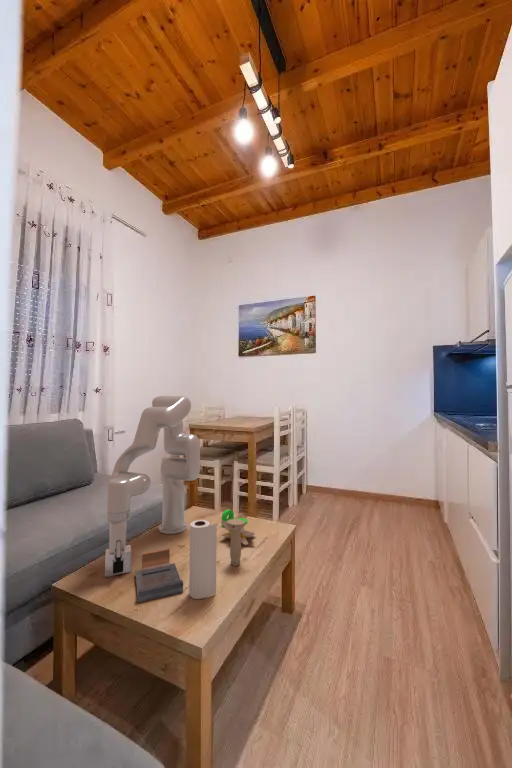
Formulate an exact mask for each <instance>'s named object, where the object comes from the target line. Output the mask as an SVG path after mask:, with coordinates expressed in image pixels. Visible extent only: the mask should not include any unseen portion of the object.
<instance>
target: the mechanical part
mask: <svg viewBox="0 0 512 768" xmlns="http://www.w3.org/2000/svg"><path fill="white" fill-rule="evenodd" d="M230 519H235V513H234V511H233V510H230V509H227V508H226V509H225V510H223V512H222V514H221V521H226V522H227V521H228V520H230ZM238 519H239V520H243V521H245V525H247V524H248V519H246V518H243V517H240V518H238ZM221 527H223V528H225V527H224V526H223V524H222V523H221Z"/></svg>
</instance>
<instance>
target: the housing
mask: <svg viewBox="0 0 512 768" xmlns="http://www.w3.org/2000/svg"><path fill="white" fill-rule="evenodd" d="M121 550H122V549H121ZM115 551H117V550H115ZM104 555H105V558H104V561H105V562H104V566H105V567H104V578H107V577H113V576H118V575H122V574H128V573H132V546H131V545H130V544H128V545H125V551H124V552H123V572H120V573H115V574H113V561H114V553H111V554H110V553H109V548H105V554H104ZM120 555H121V553H120ZM116 556H117V554H116Z"/></svg>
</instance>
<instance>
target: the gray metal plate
mask: <svg viewBox="0 0 512 768" xmlns="http://www.w3.org/2000/svg"><path fill="white" fill-rule="evenodd" d="M170 565H171V569H167V570H162V571H157V572H152V573H147V574H142V569H139V570H135V573H134V574H135V585H136V594H137V603H143V602H147V601H152V600H156V599H160V598H166V597H169V596H173V595H177V594H182V593H184V581H183V579H181V578H180V573H179V571H178V568H177V565H176V563H175V562H174V563H170Z"/></svg>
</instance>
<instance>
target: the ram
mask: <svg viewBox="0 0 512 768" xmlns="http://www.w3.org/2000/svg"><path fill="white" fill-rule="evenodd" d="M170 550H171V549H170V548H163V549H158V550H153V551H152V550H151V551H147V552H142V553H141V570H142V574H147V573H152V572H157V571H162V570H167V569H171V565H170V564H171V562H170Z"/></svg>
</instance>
